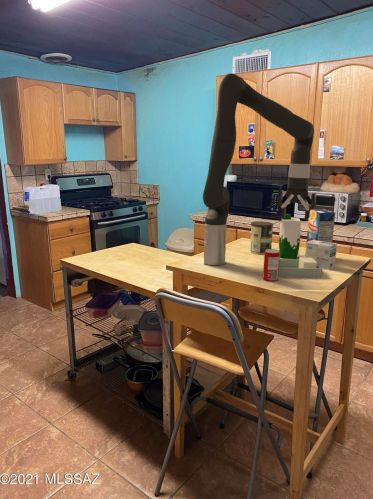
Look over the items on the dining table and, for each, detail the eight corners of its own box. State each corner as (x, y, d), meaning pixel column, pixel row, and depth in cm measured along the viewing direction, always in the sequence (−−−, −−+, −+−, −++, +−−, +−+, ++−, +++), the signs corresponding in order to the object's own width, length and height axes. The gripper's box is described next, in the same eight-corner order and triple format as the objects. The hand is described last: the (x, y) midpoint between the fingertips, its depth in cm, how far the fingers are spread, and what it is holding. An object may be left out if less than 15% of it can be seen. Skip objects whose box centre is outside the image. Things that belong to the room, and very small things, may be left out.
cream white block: (302, 274, 151) (303, 262, 150) (298, 269, 158) (299, 257, 156) (315, 274, 151) (317, 262, 150) (310, 269, 158) (311, 257, 156)
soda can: (268, 277, 149) (270, 247, 146) (280, 281, 145) (282, 250, 142) (259, 280, 145) (261, 249, 142) (272, 284, 141) (274, 252, 138)
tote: (276, 277, 148) (277, 268, 148) (270, 268, 161) (271, 258, 160) (321, 278, 148) (322, 268, 147) (311, 268, 161) (312, 259, 160)
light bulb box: (335, 268, 162) (337, 243, 159) (328, 271, 157) (331, 245, 154) (310, 263, 169) (313, 239, 166) (303, 266, 164) (306, 241, 161)
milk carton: (277, 254, 182) (280, 212, 177) (297, 255, 180) (301, 213, 175) (278, 259, 173) (281, 215, 168) (299, 261, 172) (302, 216, 167)
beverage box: (315, 262, 170) (320, 212, 164) (305, 255, 180) (309, 209, 175) (330, 262, 171) (335, 212, 165) (319, 255, 181) (323, 208, 176)
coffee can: (272, 250, 190) (274, 222, 186) (270, 255, 180) (272, 225, 177) (251, 248, 193) (252, 220, 190) (248, 253, 184) (249, 224, 180)
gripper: (277, 175, 145) (273, 218, 149) (316, 177, 138) (311, 222, 142) (283, 174, 151) (279, 215, 156) (320, 176, 145) (315, 219, 149)
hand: (294, 218), depth 149 cm, fingers open, 8 cm apart
